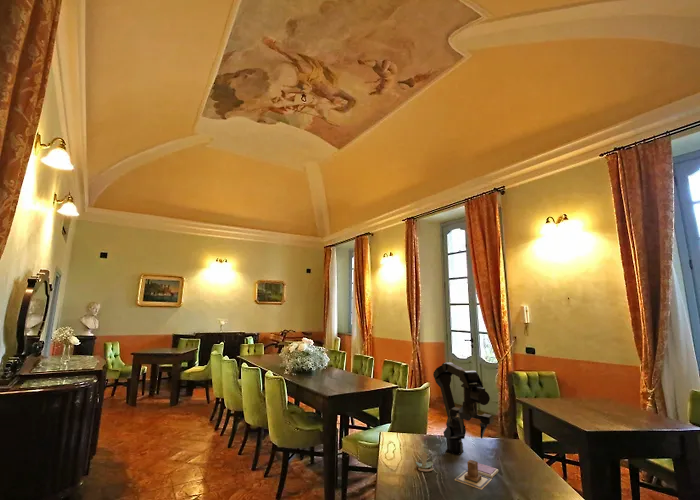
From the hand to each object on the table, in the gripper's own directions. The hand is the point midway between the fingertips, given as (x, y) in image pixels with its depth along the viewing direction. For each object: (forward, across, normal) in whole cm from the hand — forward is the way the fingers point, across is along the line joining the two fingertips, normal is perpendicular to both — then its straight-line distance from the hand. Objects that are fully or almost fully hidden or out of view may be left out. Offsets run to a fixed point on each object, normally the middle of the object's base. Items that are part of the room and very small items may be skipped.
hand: (471, 435), depth 159 cm
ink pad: (+12, +6, -3) cm, 14 cm away
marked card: (+12, +6, -14) cm, 19 cm away
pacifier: (+12, -13, -19) cm, 26 cm away
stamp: (+12, +6, -14) cm, 19 cm away
